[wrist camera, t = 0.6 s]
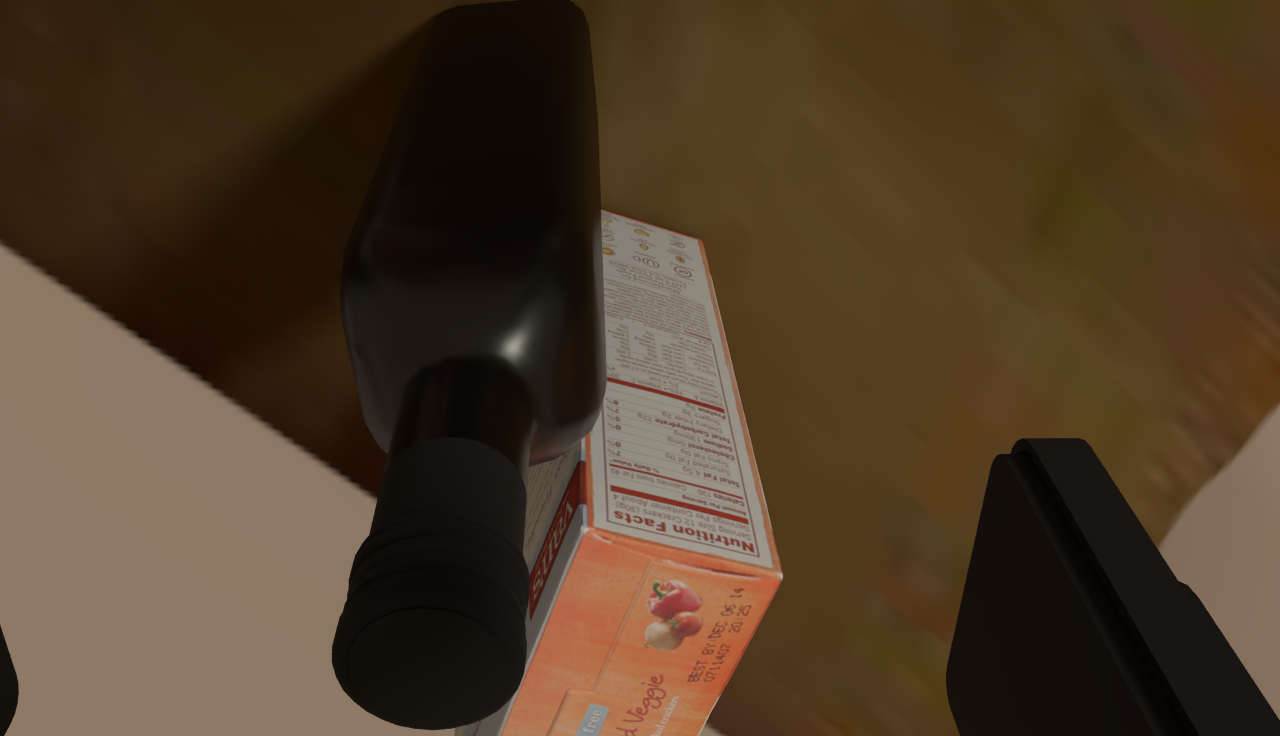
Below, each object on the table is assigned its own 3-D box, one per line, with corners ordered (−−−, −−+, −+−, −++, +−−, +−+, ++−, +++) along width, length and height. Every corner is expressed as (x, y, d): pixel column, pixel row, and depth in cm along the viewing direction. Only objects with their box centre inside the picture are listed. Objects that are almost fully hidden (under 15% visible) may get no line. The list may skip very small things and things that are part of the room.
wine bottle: (600, 141, 46) (625, 775, 20) (452, 155, 46) (288, 804, 20) (585, -9, 43) (591, 508, 17) (427, 5, 43) (197, 543, 17)
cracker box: (604, 500, 55) (616, 916, 37) (476, 468, 53) (424, 881, 36) (716, 236, 48) (797, 587, 30) (573, 192, 47) (569, 530, 29)
